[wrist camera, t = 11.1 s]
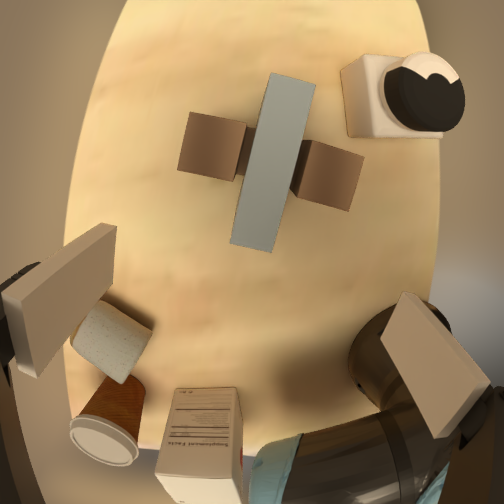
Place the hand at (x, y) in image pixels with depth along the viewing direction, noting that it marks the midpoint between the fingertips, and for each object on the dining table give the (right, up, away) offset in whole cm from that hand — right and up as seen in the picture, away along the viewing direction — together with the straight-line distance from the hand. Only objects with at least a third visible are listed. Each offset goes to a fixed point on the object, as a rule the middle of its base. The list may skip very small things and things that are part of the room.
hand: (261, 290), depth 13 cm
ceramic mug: (-17, -9, +23) cm, 30 cm away
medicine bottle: (+12, +17, +14) cm, 25 cm away
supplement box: (-6, -21, +28) cm, 36 cm away
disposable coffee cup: (-19, -18, +27) cm, 38 cm away
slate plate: (+1, +11, +16) cm, 19 cm away
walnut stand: (+1, +11, +16) cm, 19 cm away
